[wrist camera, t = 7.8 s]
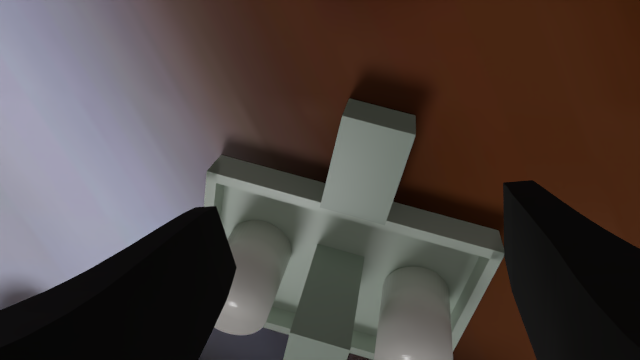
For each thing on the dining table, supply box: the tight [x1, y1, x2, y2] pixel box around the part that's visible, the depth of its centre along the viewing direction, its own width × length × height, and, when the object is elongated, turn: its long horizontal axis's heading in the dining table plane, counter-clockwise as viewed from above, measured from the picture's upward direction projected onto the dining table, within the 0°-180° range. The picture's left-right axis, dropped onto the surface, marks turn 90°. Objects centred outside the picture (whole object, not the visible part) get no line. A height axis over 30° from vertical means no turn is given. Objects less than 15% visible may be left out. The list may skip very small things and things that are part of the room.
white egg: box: [214, 220, 292, 335], centre depth 22 cm, size 3×3×4 cm
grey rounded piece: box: [374, 266, 453, 360], centre depth 22 cm, size 3×3×4 cm
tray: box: [204, 98, 504, 360], centre depth 20 cm, size 14×14×7 cm
